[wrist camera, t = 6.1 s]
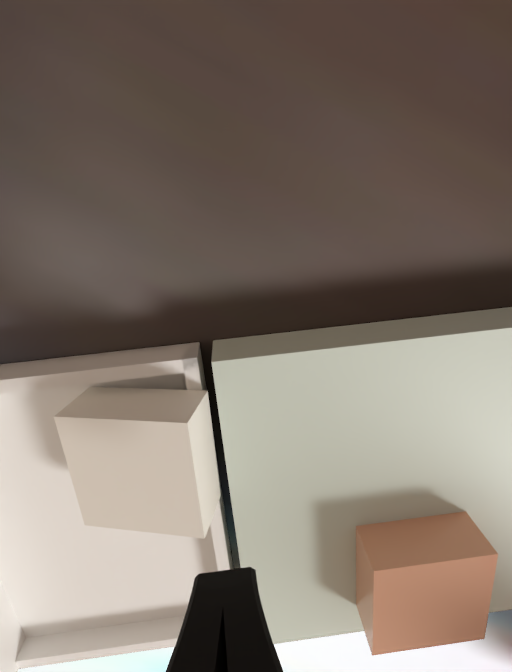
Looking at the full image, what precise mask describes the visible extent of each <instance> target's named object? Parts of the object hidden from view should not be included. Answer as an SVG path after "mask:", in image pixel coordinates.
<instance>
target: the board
mask: <svg viewBox="0 0 512 672" xmlns="http://www.w3.org/2000/svg"><path fill="white" fill-rule="evenodd" d="M211 363H212V370H213V377H214V384H215V391H216V398H217V405H218V412H219V419H220V426H221V433H222V440H223V447H224V454H225V461H226V468H227V475H228V482H229V489H230V496H231V503H232V510H233V517H234V524H235V532H236V539H237V546H238V553H239V560H240V567H241V568H246V567H252V568H253V569H255V570H256V578H257V585H258V591H259V595H260V600H261V604H262V608H263V612H264V615H265V619H266V622H267V626H268V629H269V632H270V635H271V638H272V642H273V644H277V643H284V642H291V641H298V640H304V639H311V638H318V637H325V636H332V635H339V634H346V633H353V632H360V631H364V628H363V625H362V622H361V618H360V615H359V612H358V609H357V606H356V526H360V525H367V524H375V523H382V522H390V521H397V520H405V519H412V518H420V517H427V516H435V515H442V514H449V513H457V512H464V511H466V512H467V514H468V515H469V516H470V517H471V519H472V520H473V521H474V523H475V524H476V525H477V527H478V528H479V529H480V531H481V532H482V533H483V535H484V536H485V537H486V539H487V540H488V541H489V542H490V544H491V545H492V546H493V548H494V549H495V550H496V552H497V553H498V559H497V565H496V571H495V577H494V583H493V589H492V595H491V601H490V607H489V613H491V612H497V611H504V610H511V609H512V307H506V308H498V309H489V310H480V311H471V312H462V313H453V314H444V315H435V316H426V317H417V318H409V319H400V320H391V321H382V322H373V323H364V324H355V325H346V326H337V327H328V328H319V329H311V330H302V331H293V332H284V333H275V334H266V335H257V336H248V337H239V338H230V339H222V340H213V346H212V360H211Z"/></svg>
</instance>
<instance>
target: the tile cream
mask: <svg viewBox="0 0 512 672" xmlns="http://www.w3.org/2000/svg"><path fill="white" fill-rule="evenodd" d="M54 419H55V423H56V426H57V430H58V433H59V437H60V440H61V444H62V447H63V451H64V454H65V458H66V462H67V465H68V469H69V472H70V476H71V479H72V483H73V486H74V490H75V493H76V497H77V500H78V504H79V507H80V511H81V514H82V518H83V521H84V525H86V526H95V527H104V528H113V529H122V530H131V531H140V532H149V533H159V534H168V535H177V536H186V537H195V538H204V539H205V536H206V534H207V531H208V528H209V526H210V523H211V520H212V518H213V515H214V512H215V510H216V507H217V504H218V502H219V499H220V496H221V493H220V485H219V477H218V469H217V461H216V453H215V445H214V437H213V429H212V421H211V413H210V405H209V397H208V391H204V390H173V389H141V388H110V387H89V388H88V389H87V390H85V391H84V392H83V393H82V394H81V395H79V396H78V397H77V398H76V399H74V400H73V401H72V402H71V403H70V404H68V405H67V406H66V407H65V408H63V409H62V410H61V411H60V412H59V413H57V414H56V415H55V416H54Z"/></svg>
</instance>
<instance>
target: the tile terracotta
mask: <svg viewBox="0 0 512 672" xmlns="http://www.w3.org/2000/svg"><path fill="white" fill-rule="evenodd" d="M497 559H498V553H497V552H496V550H495V549H494V548H493V546H492V545H491V544H490V542H489V541H488V540H487V539H486V537H485V536H484V535H483V533H482V532H481V531H480V529H479V528H478V527H477V525H476V524H475V523H474V521H473V520H472V519H471V517H470V516H469V515H468V514H467V512H466V511H464V512H457V513H449V514H442V515H435V516H427V517H420V518H412V519H405V520H397V521H390V522H382V523H375V524H367V525H360V526H356V606H357V609H358V612H359V615H360V618H361V622H362V625H363V628H364V631H365V634H366V637H367V640H368V643H369V646H370V650H371V653H372V655H378V654H384V653H391V652H398V651H405V650H411V649H418V648H425V647H432V646H439V645H445V644H452V643H459V642H466V641H472V640H479V639H484V638H485V632H486V625H487V619H488V613H489V607H490V601H491V595H492V589H493V583H494V577H495V571H496V565H497Z"/></svg>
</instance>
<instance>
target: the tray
mask: <svg viewBox="0 0 512 672" xmlns="http://www.w3.org/2000/svg"><path fill="white" fill-rule="evenodd" d="M89 387H110V388H141V389H173V390H204V391H207V388H206V382H205V375H204V368H203V362H202V355H201V349H200V342H195V343H186V344H177V345H168V346H159V347H150V348H141V349H133V350H124V351H115V352H106V353H97V354H88V355H79V356H70V357H61V358H52V359H44V360H35V361H26V362H17V363H8V364H0V672H17V671H18V669H21V668H28V667H35V666H42V665H49V664H56V663H63V662H70V661H77V660H83V659H90V658H97V657H104V656H111V655H118V654H125V653H132V652H139V651H146V650H153V649H160V648H167V647H174V646H175V645H176V642H177V639H178V636H179V633H180V630H181V627H182V624H183V620H184V617H185V614H186V610H187V607H188V603H189V600H190V596H191V592H192V588H193V584H194V579H195V577H196V576H197V575H198V574H200V573H208V572H215V571H223V570H230V569H234V567H233V561H232V554H231V547H230V541H229V534H228V527H227V521H226V514H225V508H224V501H223V494H222V488H221V481H220V474H219V468H218V461H217V455H216V461H217V469H218V477H219V485H220V493H221V496H220V499H219V502H218V504H217V507H216V510H215V512H214V515H213V518H212V520H211V523H210V526H209V528H208V531H207V534H206V536H205V539H204V538H195V537H186V536H177V535H168V534H159V533H149V532H140V531H131V530H122V529H113V528H104V527H95V526H86V525H84V521H83V518H82V514H81V511H80V507H79V504H78V500H77V497H76V493H75V490H74V486H73V483H72V479H71V476H70V472H69V469H68V465H67V462H66V458H65V454H64V451H63V447H62V444H61V440H60V437H59V433H58V430H57V426H56V423H55V419H54V416H55V415H56V414H57V413H59V412H60V411H61V410H62V409H63V408H65V407H66V406H67V405H68V404H70V403H71V402H72V401H73V400H74V399H76V398H77V397H78V396H79V395H81V394H82V393H83V392H84V391H85V390H87V389H88V388H89ZM212 429H213V428H212ZM213 437H214V435H213ZM214 445H215V441H214ZM215 453H216V448H215Z"/></svg>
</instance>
